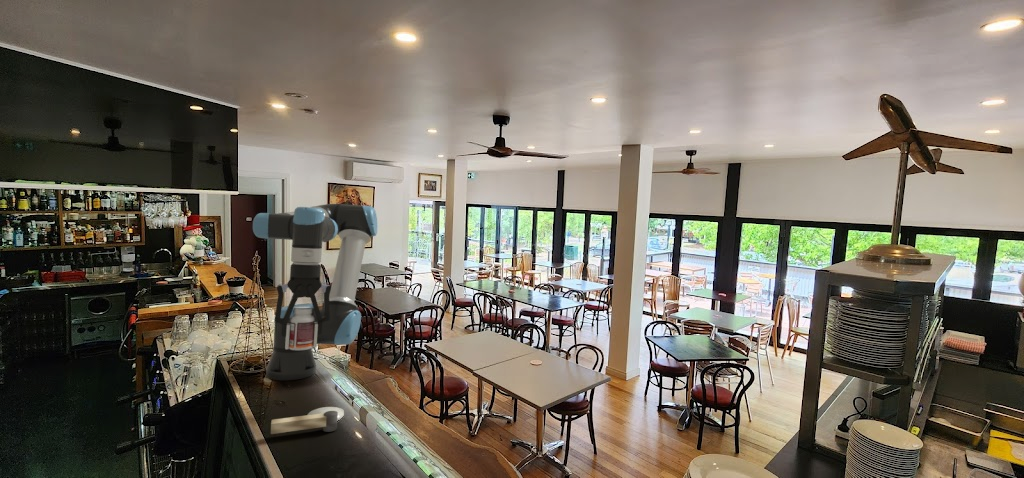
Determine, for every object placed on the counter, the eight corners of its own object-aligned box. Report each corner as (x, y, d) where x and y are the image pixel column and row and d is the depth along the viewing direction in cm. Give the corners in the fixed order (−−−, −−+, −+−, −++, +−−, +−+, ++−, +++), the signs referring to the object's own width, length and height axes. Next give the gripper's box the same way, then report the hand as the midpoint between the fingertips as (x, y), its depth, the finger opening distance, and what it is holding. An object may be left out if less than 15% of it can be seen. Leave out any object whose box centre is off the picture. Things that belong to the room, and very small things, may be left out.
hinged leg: (336, 425, 110) (337, 410, 110) (337, 430, 107) (338, 415, 107) (270, 434, 103) (271, 418, 103) (270, 440, 100) (271, 423, 100)
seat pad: (305, 413, 116) (305, 409, 116) (340, 408, 121) (341, 404, 121) (308, 427, 108) (309, 423, 108) (346, 421, 113) (346, 417, 113)
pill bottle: (316, 345, 122) (319, 307, 122) (306, 351, 115) (309, 310, 115) (294, 344, 122) (297, 305, 122) (283, 350, 115) (286, 309, 115)
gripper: (265, 263, 111) (260, 353, 110) (344, 265, 120) (339, 348, 120) (266, 261, 117) (261, 346, 117) (341, 263, 126) (336, 341, 126)
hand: (300, 347), depth 118 cm, fingers closed on pill bottle, 6 cm apart
